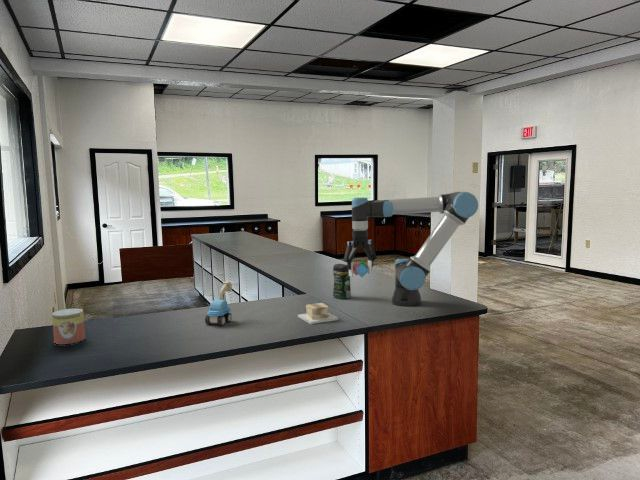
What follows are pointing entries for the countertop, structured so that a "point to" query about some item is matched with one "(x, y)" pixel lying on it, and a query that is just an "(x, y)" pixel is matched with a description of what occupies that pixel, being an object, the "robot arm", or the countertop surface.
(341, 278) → the coffee jar
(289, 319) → the countertop surface
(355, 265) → the building blocks
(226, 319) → the toy excavator
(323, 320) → the plate
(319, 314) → the maple brick
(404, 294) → the robot arm
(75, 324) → the canned food
